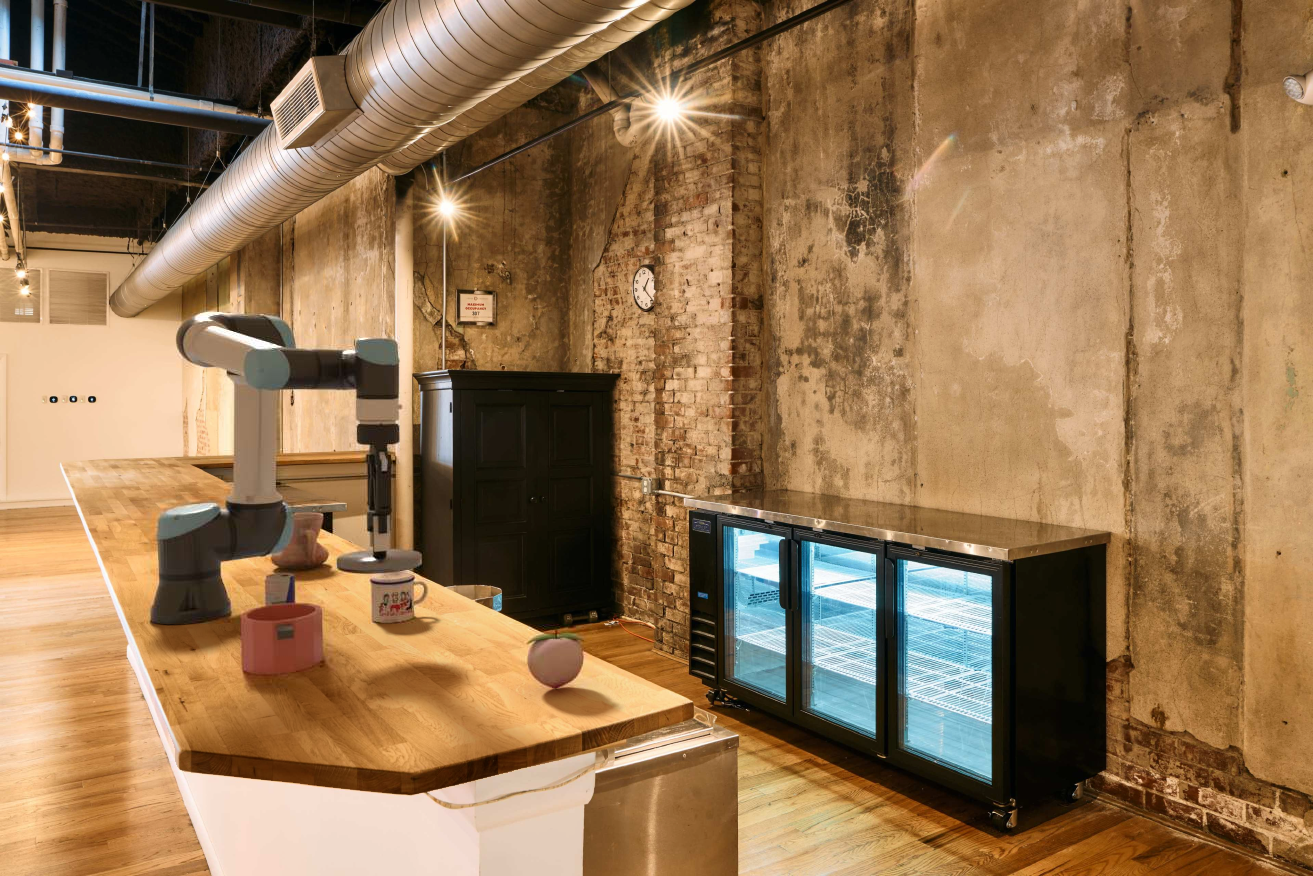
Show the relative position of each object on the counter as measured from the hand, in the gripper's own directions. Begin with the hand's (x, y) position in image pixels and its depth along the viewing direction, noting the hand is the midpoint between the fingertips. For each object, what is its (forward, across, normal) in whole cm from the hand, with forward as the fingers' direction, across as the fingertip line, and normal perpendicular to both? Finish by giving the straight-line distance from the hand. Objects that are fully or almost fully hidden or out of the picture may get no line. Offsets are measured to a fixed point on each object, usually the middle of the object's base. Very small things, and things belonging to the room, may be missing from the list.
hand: (379, 548), depth 158 cm
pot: (+19, 0, +17) cm, 25 cm away
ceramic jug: (+20, +84, +8) cm, 87 cm away
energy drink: (+19, +17, +16) cm, 31 cm away
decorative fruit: (+19, -35, -22) cm, 45 cm away
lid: (+3, 0, 0) cm, 3 cm away
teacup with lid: (+19, +21, -7) cm, 29 cm away
